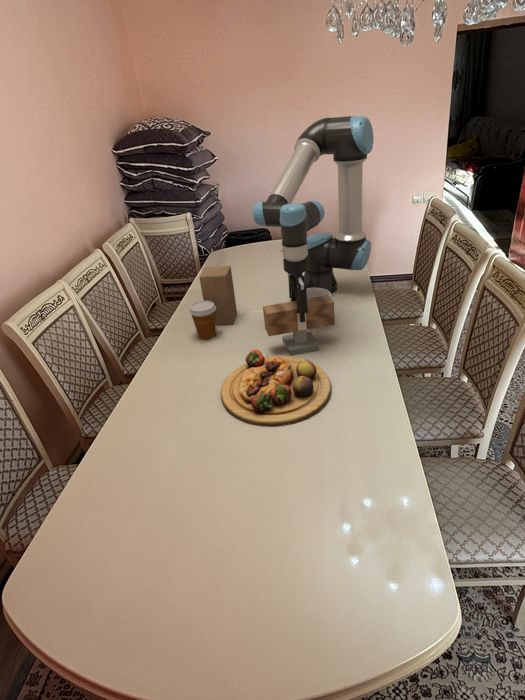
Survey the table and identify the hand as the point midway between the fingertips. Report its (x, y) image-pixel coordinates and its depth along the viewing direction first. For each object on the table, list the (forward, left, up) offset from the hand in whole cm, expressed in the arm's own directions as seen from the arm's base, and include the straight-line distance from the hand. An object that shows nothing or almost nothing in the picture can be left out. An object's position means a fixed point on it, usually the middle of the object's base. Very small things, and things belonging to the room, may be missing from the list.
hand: (299, 324), depth 148 cm
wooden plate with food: (+14, +22, -9) cm, 28 cm away
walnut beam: (0, 0, 0) cm, 0 cm away
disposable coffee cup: (+30, -19, -8) cm, 36 cm away
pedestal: (0, 0, -8) cm, 8 cm away
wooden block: (+23, -30, -8) cm, 39 cm away
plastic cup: (-10, -14, -8) cm, 19 cm away
